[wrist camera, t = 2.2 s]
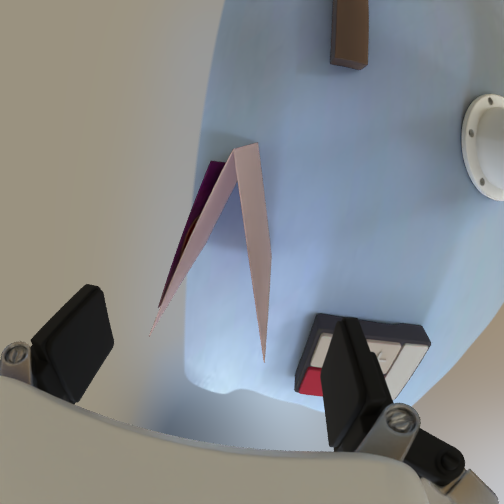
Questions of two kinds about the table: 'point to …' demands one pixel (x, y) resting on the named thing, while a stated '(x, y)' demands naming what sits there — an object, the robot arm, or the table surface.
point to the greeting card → (206, 215)
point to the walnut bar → (350, 33)
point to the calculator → (379, 341)
